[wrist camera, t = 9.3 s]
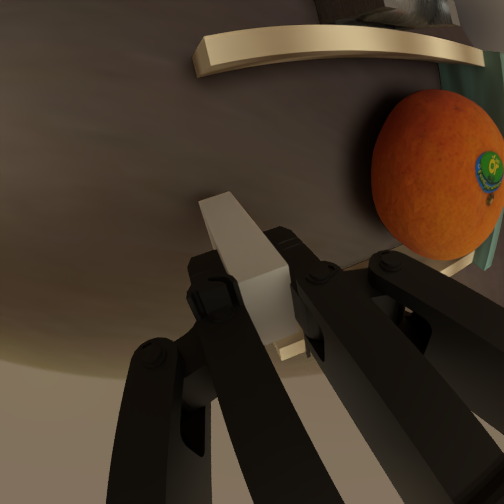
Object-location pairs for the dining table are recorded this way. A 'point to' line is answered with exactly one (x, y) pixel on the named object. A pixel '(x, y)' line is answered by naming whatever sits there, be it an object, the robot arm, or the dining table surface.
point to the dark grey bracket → (388, 13)
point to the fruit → (438, 174)
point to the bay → (367, 46)
